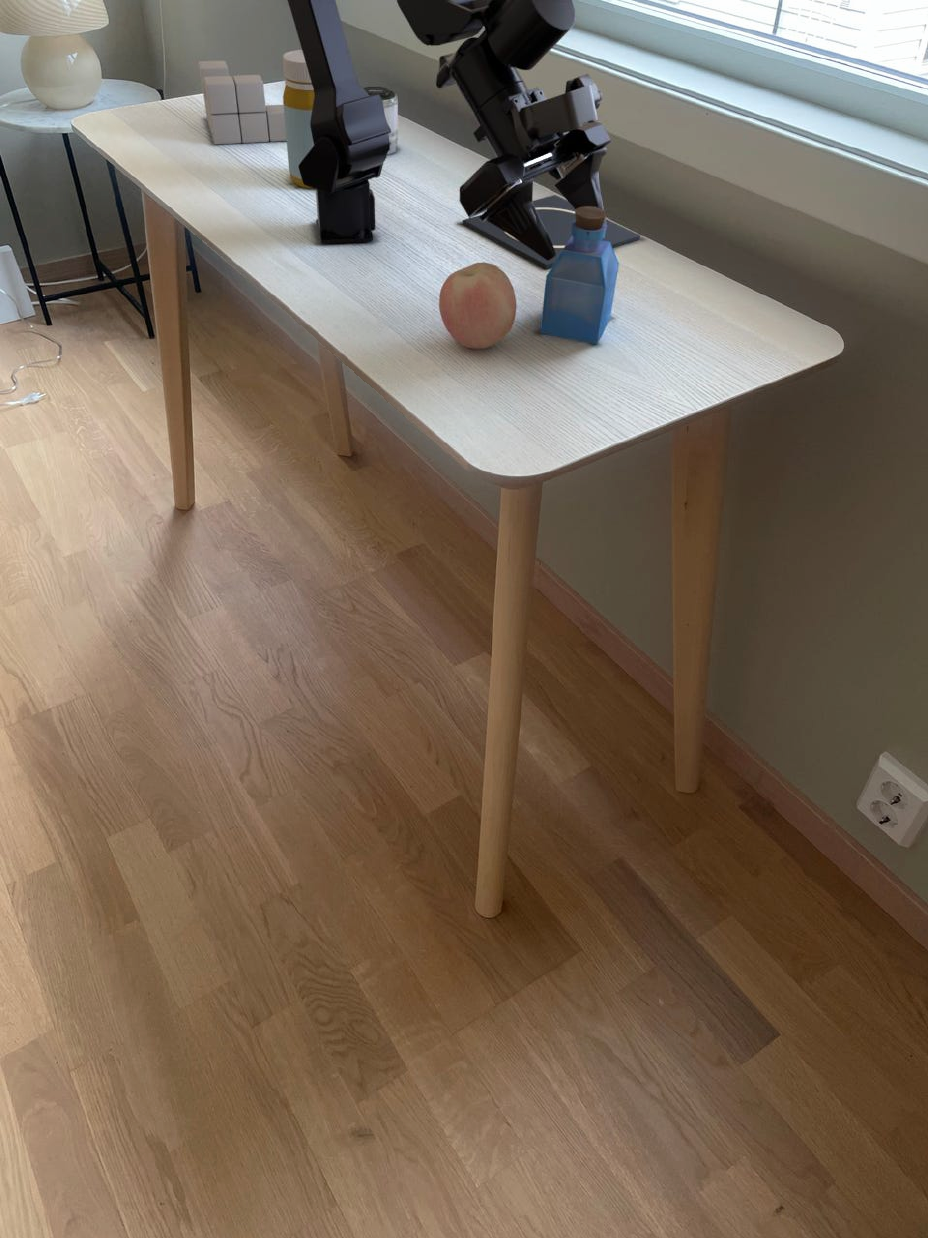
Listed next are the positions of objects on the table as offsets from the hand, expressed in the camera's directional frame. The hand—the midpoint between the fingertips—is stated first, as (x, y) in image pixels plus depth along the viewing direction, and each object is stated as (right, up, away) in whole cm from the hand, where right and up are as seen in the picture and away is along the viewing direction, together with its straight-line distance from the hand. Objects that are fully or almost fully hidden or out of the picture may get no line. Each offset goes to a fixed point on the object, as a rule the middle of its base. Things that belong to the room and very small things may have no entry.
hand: (578, 244), depth 94 cm
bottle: (-32, +22, +33) cm, 51 cm away
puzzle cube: (-44, +36, +47) cm, 74 cm away
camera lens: (-25, +31, +43) cm, 58 cm away
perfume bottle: (0, -7, +6) cm, 9 cm away
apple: (-10, -10, +2) cm, 14 cm away
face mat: (-1, +11, +24) cm, 26 cm away
